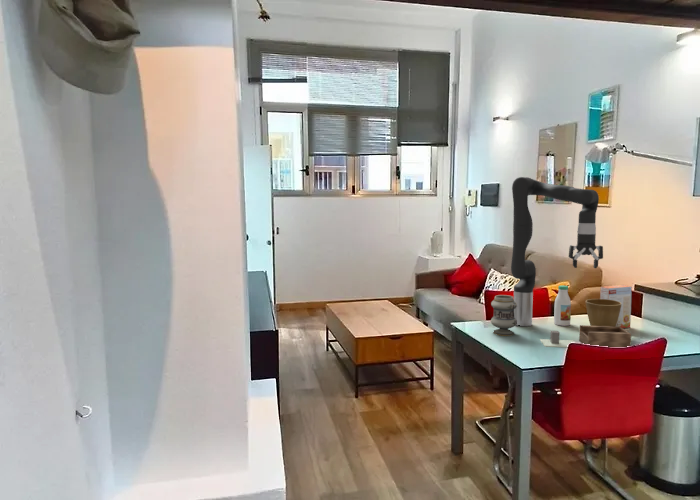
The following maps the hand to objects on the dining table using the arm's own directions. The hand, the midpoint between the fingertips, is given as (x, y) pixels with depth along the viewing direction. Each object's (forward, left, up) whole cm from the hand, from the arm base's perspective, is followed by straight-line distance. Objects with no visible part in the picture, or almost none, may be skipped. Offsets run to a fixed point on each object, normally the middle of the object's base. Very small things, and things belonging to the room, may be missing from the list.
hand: (585, 267), depth 220 cm
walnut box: (+4, -16, -32) cm, 36 cm away
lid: (-14, -16, -33) cm, 39 cm away
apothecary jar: (-36, -1, -32) cm, 48 cm away
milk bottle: (-4, +21, -32) cm, 39 cm away
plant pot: (+9, +2, -32) cm, 34 cm away
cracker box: (+20, +18, -32) cm, 42 cm away
